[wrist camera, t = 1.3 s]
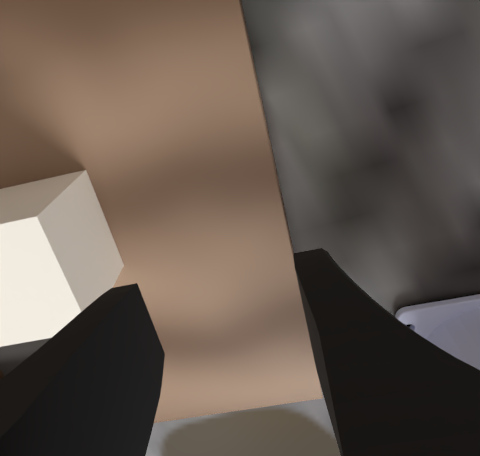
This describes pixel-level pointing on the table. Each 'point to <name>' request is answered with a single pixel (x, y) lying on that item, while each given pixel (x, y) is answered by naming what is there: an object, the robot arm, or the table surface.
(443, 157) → the table surface
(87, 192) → the block
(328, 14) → the table surface
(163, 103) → the deck
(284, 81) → the table surface
